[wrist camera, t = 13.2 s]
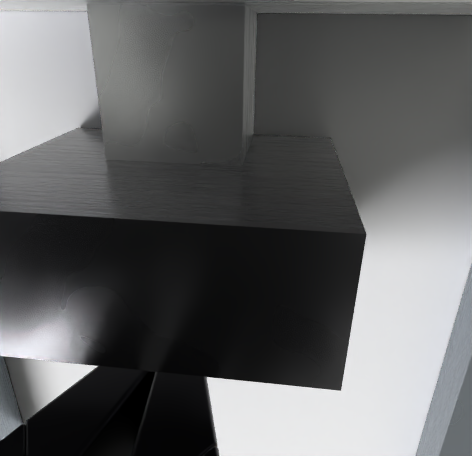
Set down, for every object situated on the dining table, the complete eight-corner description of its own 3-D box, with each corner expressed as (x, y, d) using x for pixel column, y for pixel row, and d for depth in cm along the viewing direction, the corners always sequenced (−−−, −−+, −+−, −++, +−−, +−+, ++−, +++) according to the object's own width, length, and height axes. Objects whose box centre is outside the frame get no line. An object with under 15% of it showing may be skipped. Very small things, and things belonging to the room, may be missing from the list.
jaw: (422, 243, 10) (526, 409, 6) (4, 216, 11) (-185, 336, 7) (513, -152, 7) (910, -480, 3) (-82, -134, 8) (-542, -339, 4)
